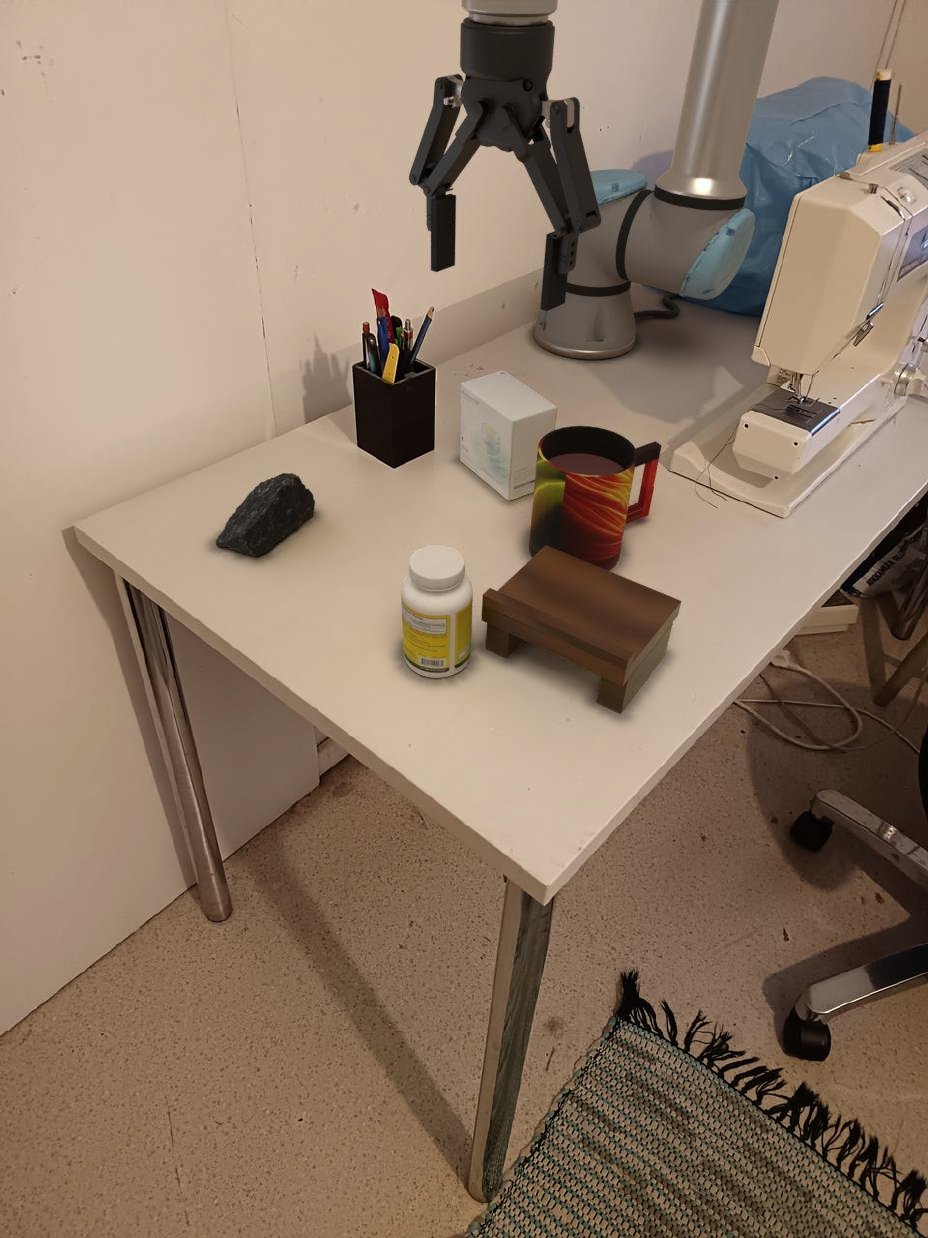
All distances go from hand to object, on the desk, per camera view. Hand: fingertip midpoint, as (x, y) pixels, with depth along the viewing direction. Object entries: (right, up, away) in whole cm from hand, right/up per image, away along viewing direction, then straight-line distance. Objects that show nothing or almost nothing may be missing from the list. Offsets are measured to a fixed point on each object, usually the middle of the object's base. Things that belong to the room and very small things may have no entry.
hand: (495, 286), depth 83 cm
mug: (+10, -23, +11) cm, 28 cm away
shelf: (+7, -35, -2) cm, 35 cm away
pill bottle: (-6, -35, -3) cm, 36 cm away
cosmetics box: (+2, -15, +21) cm, 26 cm away
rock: (-24, -22, +11) cm, 35 cm away
